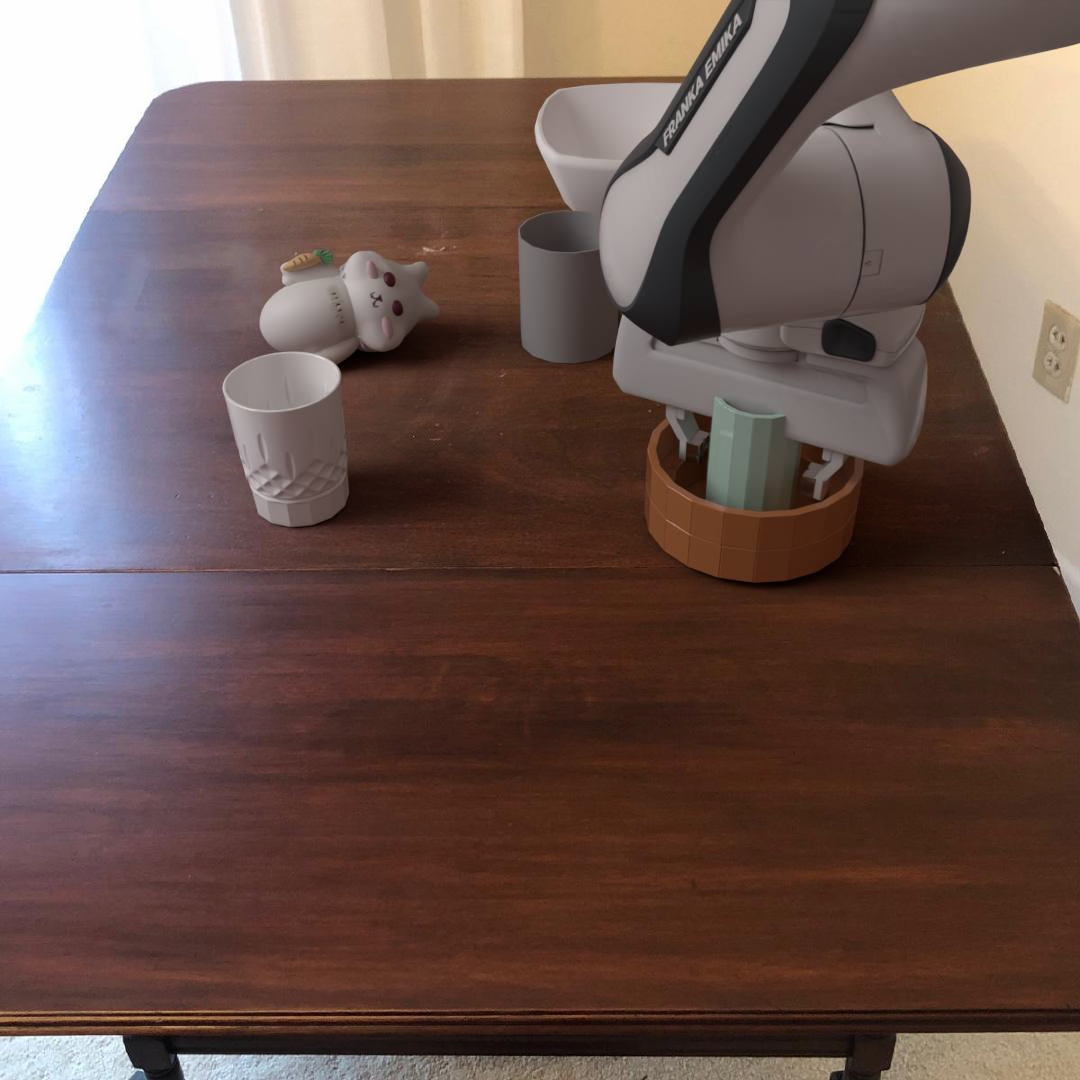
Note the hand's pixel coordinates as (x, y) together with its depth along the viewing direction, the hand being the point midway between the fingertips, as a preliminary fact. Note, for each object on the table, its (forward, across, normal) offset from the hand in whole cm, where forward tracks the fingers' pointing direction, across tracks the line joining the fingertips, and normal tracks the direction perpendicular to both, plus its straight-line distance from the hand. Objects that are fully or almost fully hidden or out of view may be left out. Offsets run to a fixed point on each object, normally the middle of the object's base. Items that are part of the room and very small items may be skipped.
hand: (752, 475), depth 83 cm
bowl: (+4, -27, +40) cm, 48 cm away
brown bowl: (+4, 0, 0) cm, 4 cm away
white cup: (+4, -29, -13) cm, 32 cm away
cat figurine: (+4, -39, +7) cm, 40 cm away
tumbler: (+4, 0, 0) cm, 4 cm away
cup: (+4, -24, +17) cm, 29 cm away
